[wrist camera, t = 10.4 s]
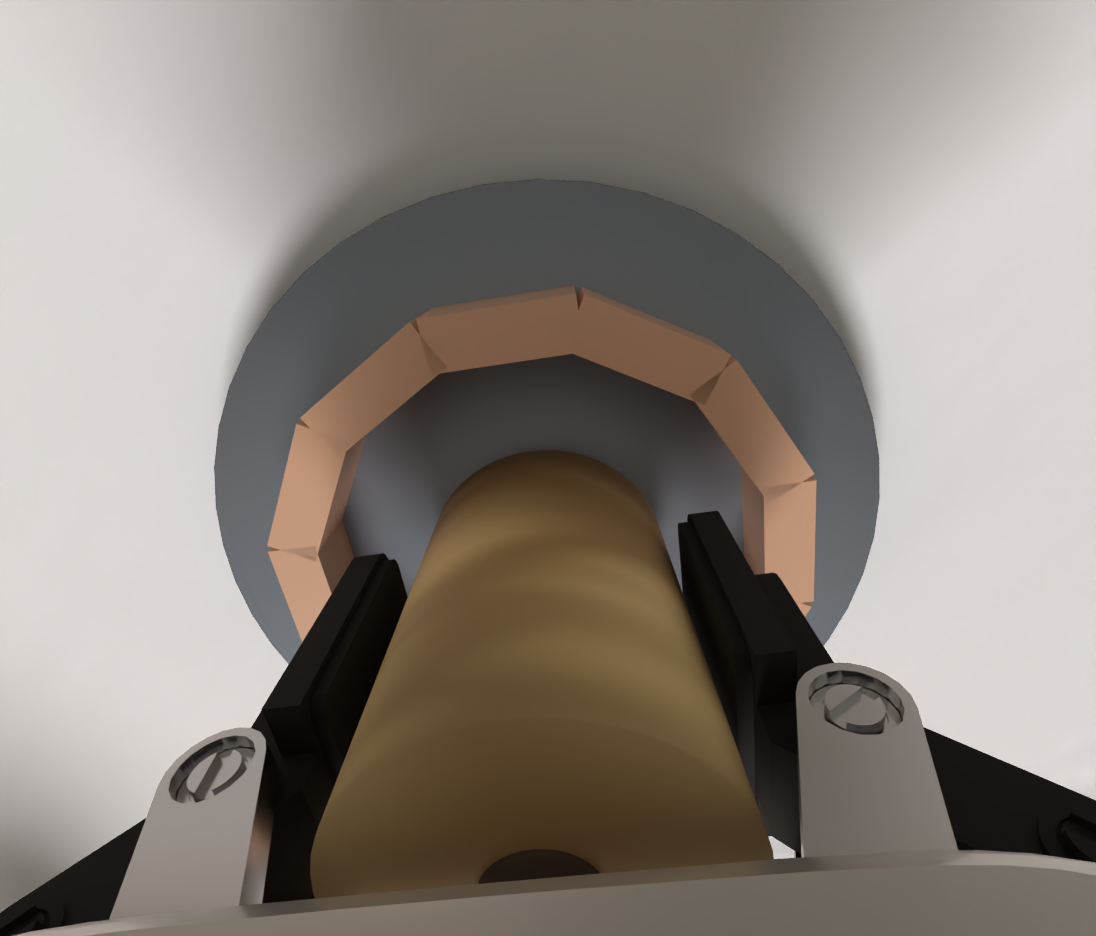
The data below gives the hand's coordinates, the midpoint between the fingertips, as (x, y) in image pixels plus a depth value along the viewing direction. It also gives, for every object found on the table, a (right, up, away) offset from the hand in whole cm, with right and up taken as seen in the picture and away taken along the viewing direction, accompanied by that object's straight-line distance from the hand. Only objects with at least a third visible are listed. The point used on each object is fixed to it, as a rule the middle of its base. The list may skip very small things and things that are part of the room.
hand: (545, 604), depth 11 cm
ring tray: (0, +1, +3) cm, 3 cm away
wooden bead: (0, +1, +2) cm, 2 cm away
